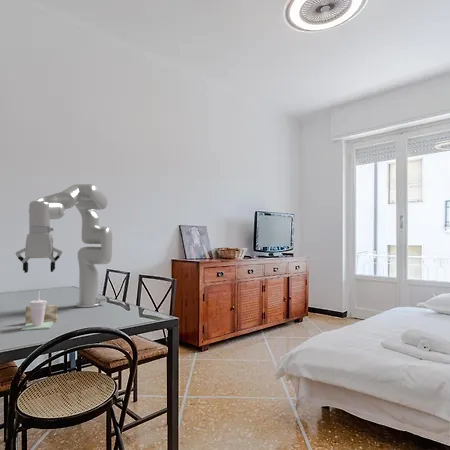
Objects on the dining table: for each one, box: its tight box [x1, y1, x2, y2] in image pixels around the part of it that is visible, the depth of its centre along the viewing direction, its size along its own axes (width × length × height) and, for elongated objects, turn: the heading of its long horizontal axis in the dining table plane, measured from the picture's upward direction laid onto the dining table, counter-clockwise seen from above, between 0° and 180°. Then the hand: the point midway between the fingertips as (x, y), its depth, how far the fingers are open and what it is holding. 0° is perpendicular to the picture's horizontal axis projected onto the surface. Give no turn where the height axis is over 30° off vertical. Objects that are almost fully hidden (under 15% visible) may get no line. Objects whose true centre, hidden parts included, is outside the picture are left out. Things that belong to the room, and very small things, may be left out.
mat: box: [20, 322, 54, 332], centre depth 146 cm, size 10×10×1 cm
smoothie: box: [29, 290, 48, 326], centre depth 146 cm, size 6×6×14 cm
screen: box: [24, 304, 58, 325], centre depth 154 cm, size 12×3×7 cm, turn 108°
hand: (39, 272), depth 147 cm, fingers open, 9 cm apart
